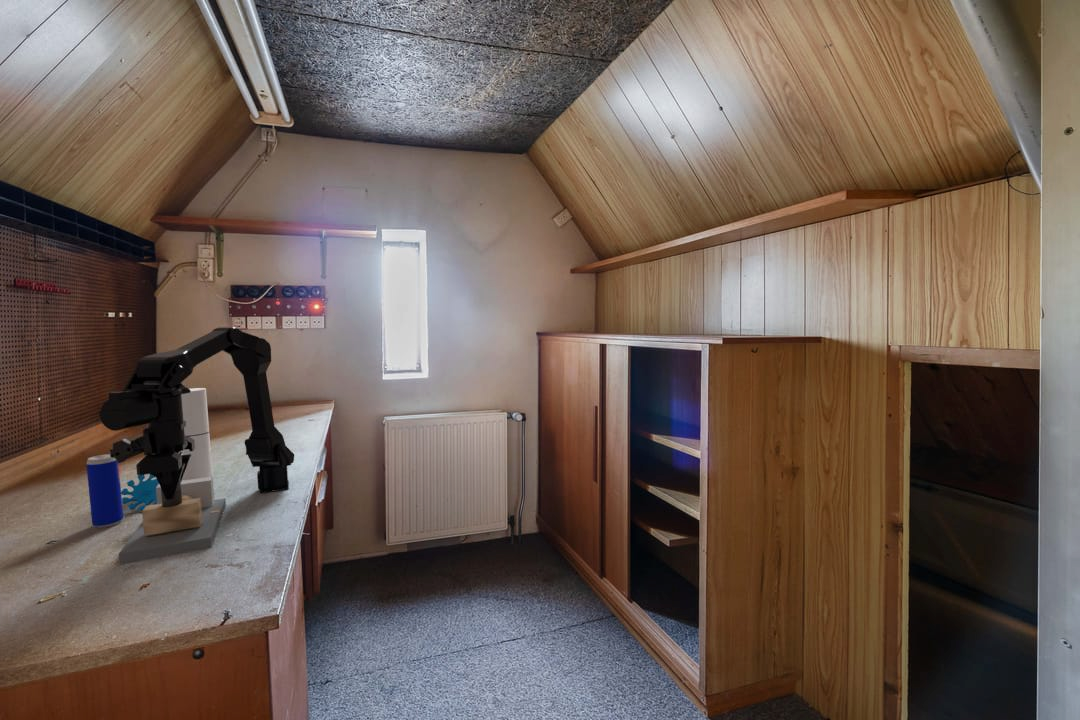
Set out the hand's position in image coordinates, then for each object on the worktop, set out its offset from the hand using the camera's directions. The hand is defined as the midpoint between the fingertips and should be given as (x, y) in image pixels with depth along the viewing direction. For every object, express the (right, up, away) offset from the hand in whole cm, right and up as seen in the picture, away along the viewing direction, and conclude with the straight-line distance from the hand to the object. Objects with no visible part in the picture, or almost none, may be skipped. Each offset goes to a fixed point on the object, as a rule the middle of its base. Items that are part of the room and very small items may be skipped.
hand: (171, 496), depth 98 cm
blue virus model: (-19, -8, +20) cm, 29 cm away
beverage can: (-21, -9, +10) cm, 25 cm away
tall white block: (-24, -6, +42) cm, 48 cm away
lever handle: (0, -7, 0) cm, 7 cm away
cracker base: (-2, -9, +5) cm, 10 cm away
